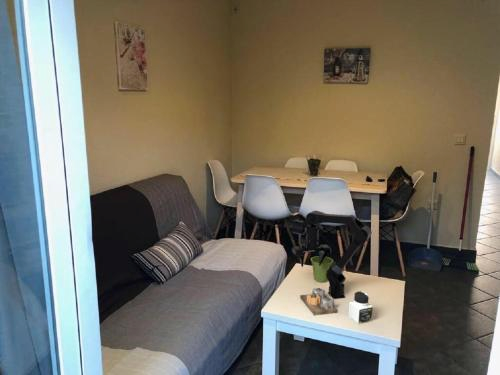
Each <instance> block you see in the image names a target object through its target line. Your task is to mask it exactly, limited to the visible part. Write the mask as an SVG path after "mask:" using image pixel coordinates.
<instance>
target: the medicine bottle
mask: <svg viewBox="0 0 500 375" xmlns="http://www.w3.org/2000/svg"><path fill="white" fill-rule="evenodd" d="M353 295H354V296H353V301H350V302H349V304H348V318H350V320H352V321H353V322H355V323H356V324H357V325H361V324H365V323H369V322H372V321H373V320H372V319H373V305H371V304H370V303H369V301H370V295H369V293H367V292H365V291H361V290H360V291H359V290H358V291H356V292H355V293H354V294H353Z"/></svg>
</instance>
